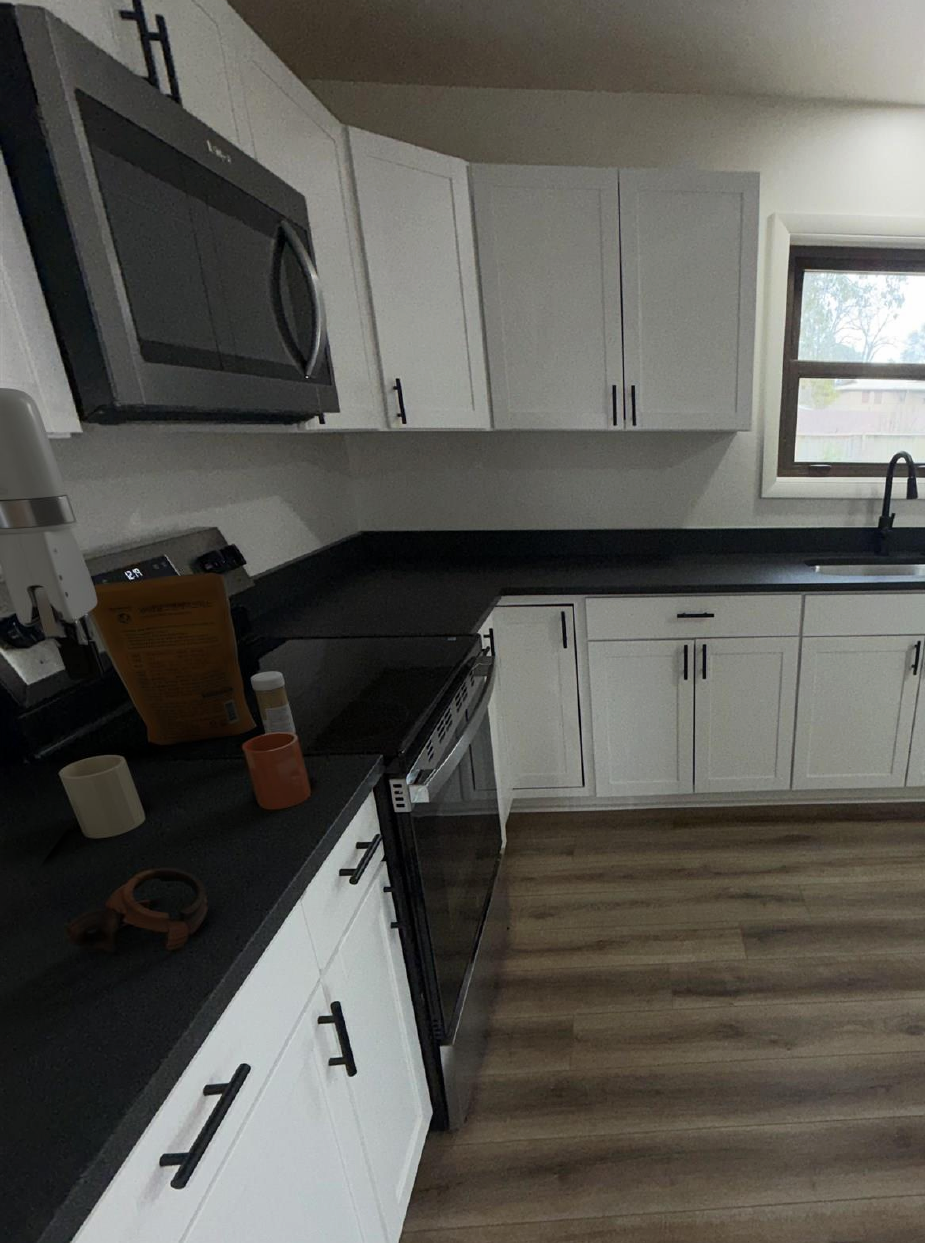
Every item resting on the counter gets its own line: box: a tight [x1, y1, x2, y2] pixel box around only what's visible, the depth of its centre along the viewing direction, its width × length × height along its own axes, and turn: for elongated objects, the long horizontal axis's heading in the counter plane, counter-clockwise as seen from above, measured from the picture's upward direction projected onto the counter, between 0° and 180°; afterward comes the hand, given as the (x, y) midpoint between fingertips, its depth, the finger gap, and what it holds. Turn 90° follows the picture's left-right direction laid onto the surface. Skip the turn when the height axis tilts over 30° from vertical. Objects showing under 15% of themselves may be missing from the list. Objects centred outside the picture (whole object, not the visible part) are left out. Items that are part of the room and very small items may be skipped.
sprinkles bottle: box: [250, 670, 297, 735], centre depth 119 cm, size 5×5×14 cm
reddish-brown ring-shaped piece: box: [65, 867, 209, 954], centre depth 77 cm, size 12×10×8 cm
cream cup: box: [58, 754, 146, 839], centre depth 98 cm, size 7×7×9 cm
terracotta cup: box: [241, 732, 312, 810], centre depth 105 cm, size 7×7×9 cm
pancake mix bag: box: [90, 572, 257, 746], centre depth 121 cm, size 7×19×28 cm, turn 113°
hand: (88, 676), depth 86 cm, fingers closed
